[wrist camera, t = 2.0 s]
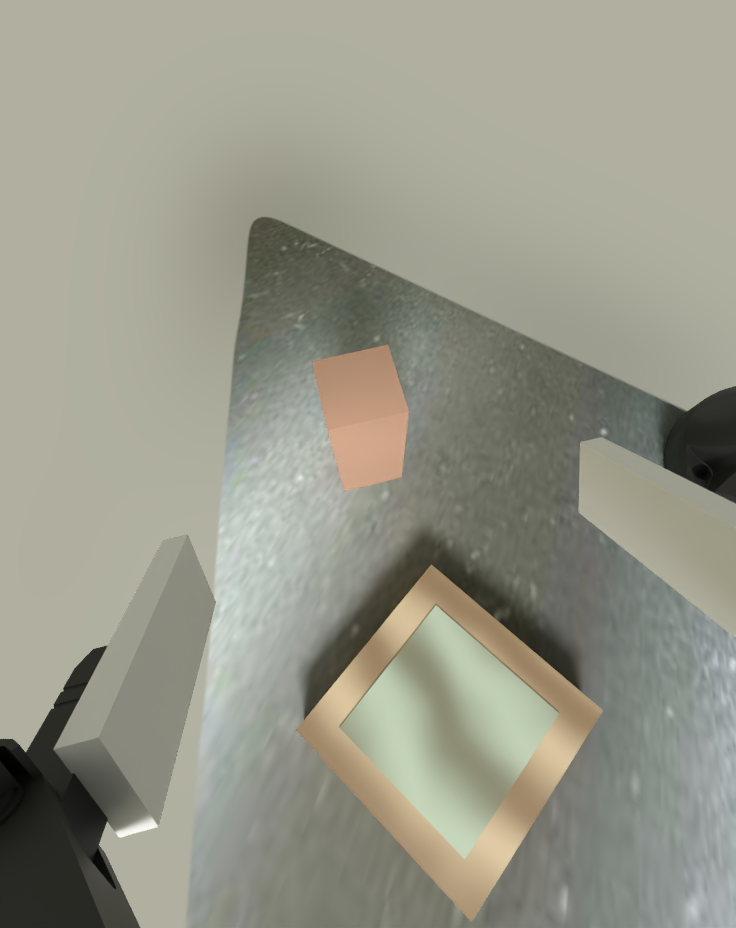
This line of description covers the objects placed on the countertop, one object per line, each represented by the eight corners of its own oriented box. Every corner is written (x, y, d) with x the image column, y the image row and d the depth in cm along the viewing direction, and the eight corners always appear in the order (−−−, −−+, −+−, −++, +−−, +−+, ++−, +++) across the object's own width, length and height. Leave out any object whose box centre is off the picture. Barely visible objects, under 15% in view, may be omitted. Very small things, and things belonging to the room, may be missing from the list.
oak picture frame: (427, 569, 34) (431, 564, 31) (582, 702, 30) (603, 710, 28) (304, 720, 31) (295, 730, 28) (462, 891, 27) (472, 923, 24)
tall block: (386, 426, 39) (388, 344, 28) (401, 477, 37) (409, 411, 26) (332, 439, 38) (311, 361, 27) (344, 491, 37) (327, 430, 26)
